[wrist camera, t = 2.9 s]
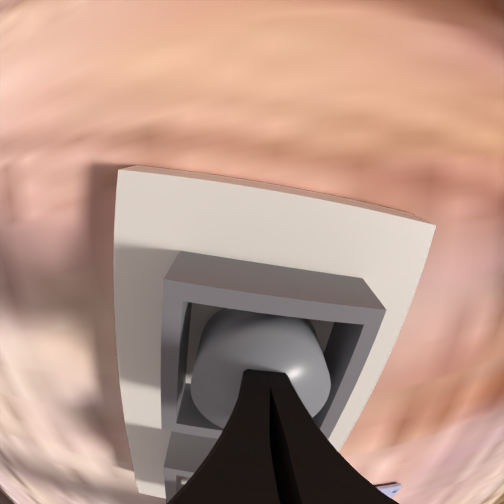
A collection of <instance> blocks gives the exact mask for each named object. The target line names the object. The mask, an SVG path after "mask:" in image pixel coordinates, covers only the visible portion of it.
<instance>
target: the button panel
mask: <svg viewBox="0 0 504 504" xmlns="http://www.w3.org/2000/svg"><path fill="white" fill-rule="evenodd" d="M435 228H436V225H434V224H432V223H431V222H429V221H427V220H425V219H423V218H421V217H419V216H417V215H415V214H412V213H408V212H404V211H400V210H396V209H392V208H388V207H383V206H379V205H375V204H370V203H366V202H361V201H357V200H352V199H348V198H343V197H338V196H333V195H328V194H323V193H318V192H313V191H308V190H303V189H298V188H292V187H287V186H281V185H276V184H270V183H264V182H258V181H252V180H246V179H239V178H233V177H226V176H220V175H213V174H206V173H198V172H191V171H183V170H175V169H167V168H158V167H149V166H140V165H135V166H131V167H127V168H123V169H119V170H118V177H117V189H116V204H115V222H114V257H113V283H114V317H115V336H116V350H117V362H118V372H119V382H120V390H121V398H122V406H123V413H124V420H125V426H126V432H127V438H128V444H129V449H130V454H131V460H132V464H133V469H134V474H135V478H136V483H137V487H138V491H139V493H142V494H146V495H150V496H155V497H160V498H165V499H166V504H167V503H168V502H169V501H170V500H171V499H172V498H173V496H174V495H175V494H176V493H177V492H178V491H179V490H180V489H181V488H182V487H183V486H184V485H185V484H186V482H187V481H188V480H189V479H190V478H191V477H192V475H193V474H194V473H195V472H196V470H197V469H198V468H199V466H200V465H201V464H202V462H203V461H204V460H205V458H206V457H207V455H208V454H209V452H210V451H211V449H212V448H213V446H214V445H215V443H216V442H217V440H218V438H219V437H220V435H221V433H222V431H223V428H221V427H219V426H217V425H215V424H213V423H212V422H210V421H209V420H208V419H207V418H205V417H204V416H203V415H202V414H201V412H200V411H199V410H198V409H197V407H196V405H195V404H194V401H193V399H192V396H191V386H190V385H191V379H192V374H193V370H194V365H195V361H196V356H197V352H198V347H199V343H200V338H201V335H202V332H203V329H204V328H205V326H206V324H207V323H208V321H209V320H210V319H211V318H212V317H213V316H214V315H215V314H216V313H217V312H218V311H220V310H221V309H223V308H230V309H237V310H243V311H250V312H258V313H265V314H272V315H280V316H288V317H296V318H305V319H309V320H310V322H311V323H312V325H313V327H314V329H315V331H316V334H317V337H318V340H319V343H320V346H321V350H322V353H323V356H324V359H325V362H326V365H327V368H328V371H329V375H330V380H331V387H330V393H329V396H328V399H327V401H326V403H325V404H324V406H323V407H322V409H321V410H320V411H319V412H318V413H317V414H316V415H315V416H314V417H313V419H314V421H315V423H316V424H317V425H318V427H319V428H320V430H321V431H322V432H323V434H324V435H325V436H326V438H327V439H328V440H329V441H330V443H331V444H332V445H333V446H334V448H335V449H336V450H337V451H338V452H339V450H340V449H341V447H342V445H343V444H344V442H345V440H346V439H347V437H348V435H349V434H350V432H351V430H352V428H353V427H354V425H355V423H356V421H357V419H358V418H359V416H360V414H361V412H362V410H363V408H364V407H365V405H366V403H367V401H368V399H369V397H370V395H371V393H372V391H373V389H374V387H375V385H376V383H377V381H378V379H379V377H380V375H381V373H382V371H383V369H384V366H385V364H386V362H387V360H388V358H389V355H390V353H391V351H392V349H393V346H394V344H395V342H396V339H397V337H398V335H399V332H400V330H401V328H402V325H403V323H404V320H405V318H406V315H407V312H408V310H409V307H410V305H411V302H412V299H413V297H414V294H415V291H416V288H417V285H418V282H419V280H420V277H421V274H422V271H423V268H424V265H425V261H426V258H427V255H428V252H429V248H430V245H431V242H432V238H433V235H434V231H435Z"/></svg>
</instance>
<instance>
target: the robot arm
mask: <svg viewBox="0 0 504 504" xmlns="http://www.w3.org/2000/svg"><path fill="white" fill-rule="evenodd" d="M401 488H402V485H401V483H397V484H391V485H385V486H378V487H375V486H374V485H372V484H371V483H370V482H369V481H368V480H366V479H365V478H364V477H363V476H362V475H360V474H359V473H358V472H357V471H356V470H355V469H354V468H353V467H352V466H351V465H350V464H349V463H348V462H347V461H346V460H345V459H344V458H343V457H342V456H341V454H340V453H339V452H338V451H337V450H336V449H335V448H334V446H333V445H332V444H331V443H330V441H329V440H328V439H327V438H326V436H325V435H324V434H323V432H322V431H321V430H320V428H319V427H318V425H317V424H316V423H315V421H314V419H313V418H312V416H311V415H310V413H309V412H308V410H307V409H306V407H305V406H304V404H303V402H302V401H301V399H300V397H299V396H298V394H297V392H296V390H295V388H294V387H293V385H292V383H291V381H290V379H289V377H288V375H287V374H286V373H281V372H270V371H261V370H252V369H246V370H245V371H243V376H242V381H241V385H240V390H239V395H238V399H237V402H236V404H235V406H234V409H233V411H232V414H231V416H230V418H229V420H228V422H227V424H226V425H225V427H224V429H223V431H222V433H221V435H220V437H219V438H218V440H217V442H216V443H215V445H214V446H213V448H212V449H211V451H210V452H209V454H208V455H207V457H206V458H205V460H204V461H203V462H202V464H201V465H200V466H199V468H198V469H197V470H196V472H195V473H194V474H193V475H192V477H191V478H190V479H189V480H188V481H187V482H186V484H185V485H184V486H183V487H182V488H181V489H180V490H179V491H178V492H177V493H176V494H175V495H174V496H173V498H172V499H171V500H170V501H169V502H168V503H167V504H399V503H397V502H396V501H394V500H393V499H391V498H392V497H393V496H394V495H395V494H396V493H397V492H398V491H399V490H400V489H401Z"/></svg>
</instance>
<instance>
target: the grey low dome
mask: <svg viewBox="0 0 504 504" xmlns="http://www.w3.org/2000/svg"><path fill="white" fill-rule="evenodd" d="M246 369H252V370H261V371H270V372H281V373H286V374H287V375H288V377H289V379H290V381H291V383H292V385H293V387H294V388H295V390H296V392H297V394H298V396H299V397H300V399H301V401H302V402H303V404H304V406H305V407H306V409H307V410H308V412H309V413H310V415H311V416H312V418H313V417H314V416H315V415H316V414H317V413H318V412H319V411H320V410H321V409H322V407H323V406H324V404H325V403H326V401H327V399H328V396H329V393H330V387H331V380H330V375H329V371H328V368H327V365H326V362H325V359H324V356H323V353H322V350H321V346H320V343H319V340H318V337H317V334H316V331H315V329H314V327H313V325H312V323H311V322H310V320H309V319H305V318H296V317H288V316H280V315H272V314H265V313H258V312H250V311H243V310H237V309H230V308H223V309H221V310H220V311H218V312H217V313H216V314H215V315H214V316H213V317H212V318H211V319H210V320H209V321H208V323H207V324H206V326H205V328H204V329H203V332H202V335H201V338H200V343H199V347H198V352H197V356H196V361H195V365H194V370H193V374H192V379H191V385H190V386H191V396H192V399H193V401H194V404H195V405H196V407H197V409H198V410H199V411H200V412H201V414H202V415H203V416H204V417H205V418H207V419H208V420H209V421H210V422H212V423H213V424H215V425H217V426H219V427H221V428H223V429H224V427H225V425H226V424H227V422H228V420H229V418H230V416H231V414H232V411H233V409H234V406H235V404H236V402H237V399H238V395H239V390H240V385H241V381H242V376H243V371H245V370H246Z"/></svg>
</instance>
